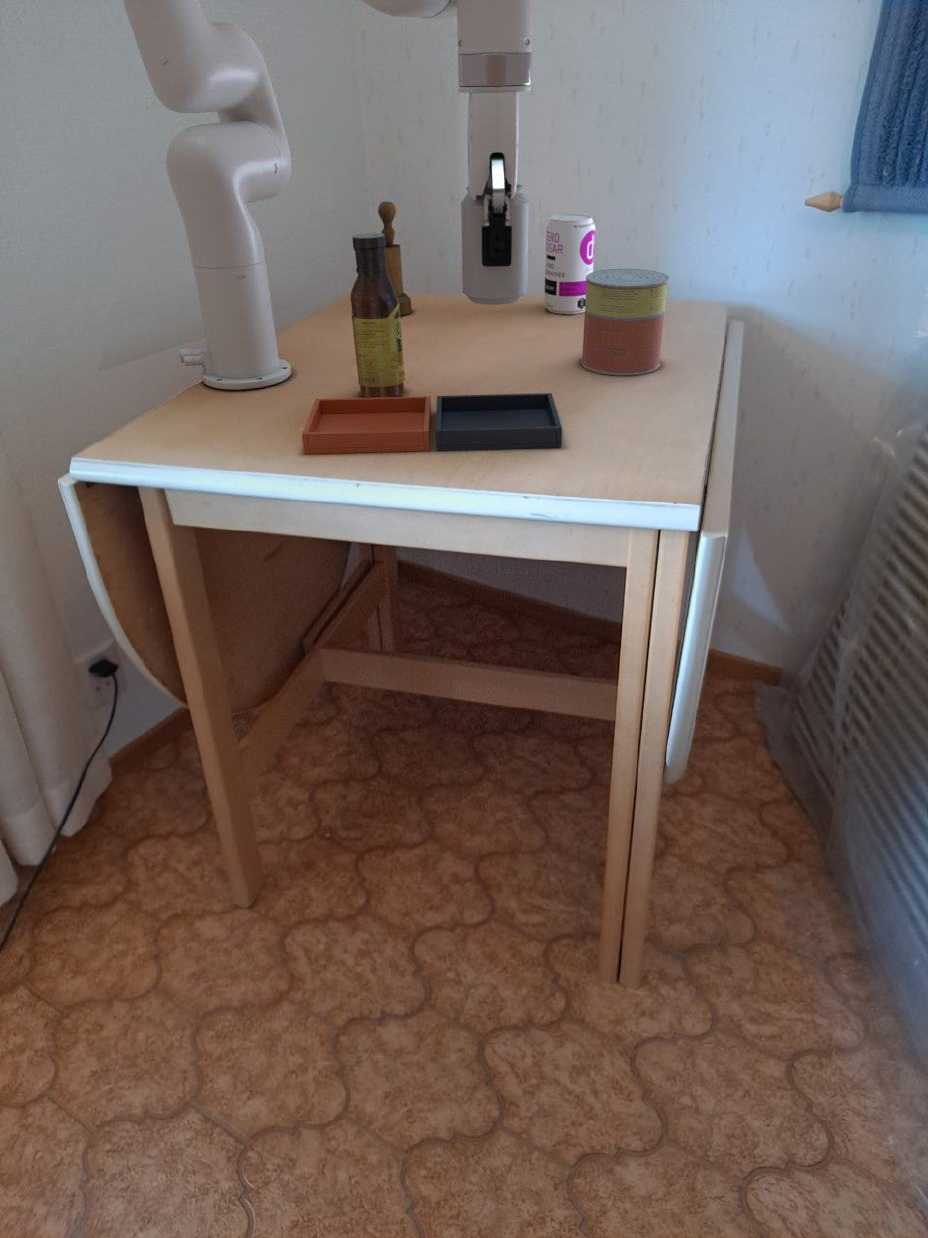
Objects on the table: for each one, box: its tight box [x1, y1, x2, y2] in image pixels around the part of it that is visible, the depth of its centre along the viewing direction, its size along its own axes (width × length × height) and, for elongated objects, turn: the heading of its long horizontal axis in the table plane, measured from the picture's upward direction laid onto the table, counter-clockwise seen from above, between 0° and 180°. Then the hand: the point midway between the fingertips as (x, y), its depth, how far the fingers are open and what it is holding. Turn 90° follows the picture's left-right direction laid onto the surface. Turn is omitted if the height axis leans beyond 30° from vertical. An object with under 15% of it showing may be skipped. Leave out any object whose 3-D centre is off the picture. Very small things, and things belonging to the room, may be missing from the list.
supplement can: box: [543, 213, 596, 315], centre depth 149 cm, size 8×8×15 cm
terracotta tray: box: [301, 395, 432, 455], centre depth 104 cm, size 14×12×2 cm
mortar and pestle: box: [377, 200, 412, 317], centre depth 149 cm, size 7×6×18 cm
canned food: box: [581, 268, 670, 377], centre depth 122 cm, size 11×11×12 cm
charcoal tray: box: [435, 392, 563, 452], centre depth 104 cm, size 14×12×2 cm
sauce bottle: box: [350, 232, 406, 398], centre depth 111 cm, size 7×6×20 cm
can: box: [460, 183, 530, 306], centre depth 97 cm, size 8×8×12 cm
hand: (494, 257), depth 98 cm, fingers closed on can, 7 cm apart
